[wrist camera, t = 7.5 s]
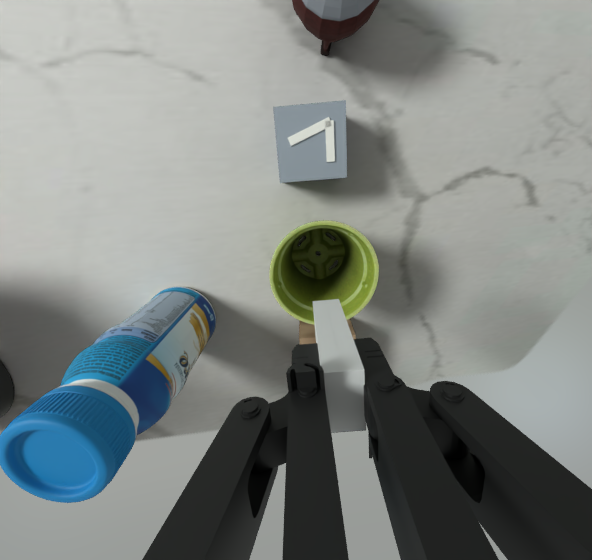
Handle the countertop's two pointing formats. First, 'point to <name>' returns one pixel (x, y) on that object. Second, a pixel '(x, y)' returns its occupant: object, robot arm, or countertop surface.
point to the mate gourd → (333, 18)
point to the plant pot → (323, 269)
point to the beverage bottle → (107, 399)
